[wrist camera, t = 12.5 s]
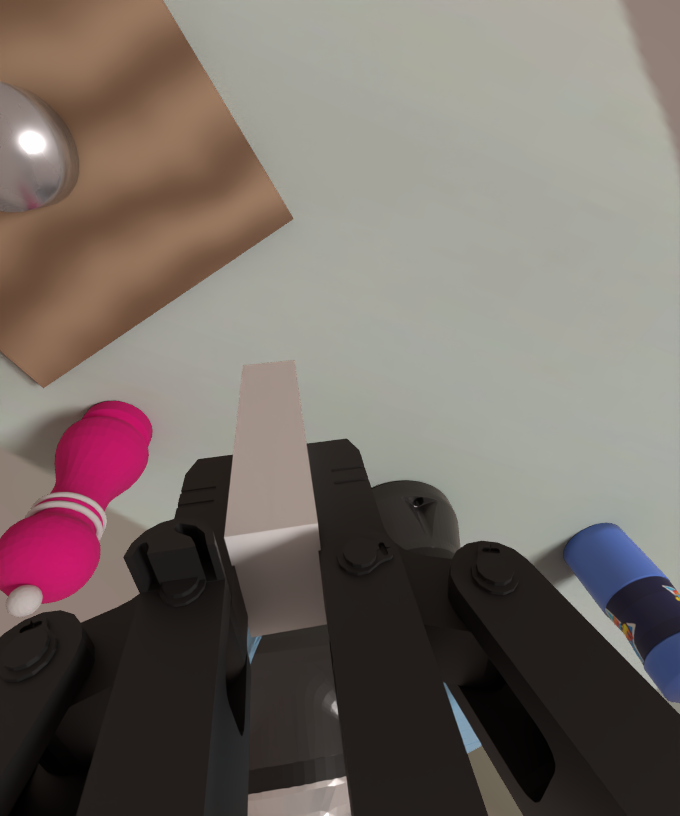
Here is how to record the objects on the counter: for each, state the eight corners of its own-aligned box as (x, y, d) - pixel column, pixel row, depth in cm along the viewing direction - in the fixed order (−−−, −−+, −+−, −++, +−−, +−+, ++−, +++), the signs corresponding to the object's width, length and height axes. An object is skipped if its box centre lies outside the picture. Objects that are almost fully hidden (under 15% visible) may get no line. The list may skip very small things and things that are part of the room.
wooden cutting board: (292, 216, 35) (293, 219, 33) (51, 380, 38) (42, 389, 37) (6, -262, 22) (-13, -292, 20) (-317, 57, 25) (-353, 51, 24)
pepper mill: (67, 440, 42) (-71, 636, 24) (93, 382, 39) (-41, 556, 22) (141, 467, 44) (64, 660, 27) (170, 415, 42) (104, 591, 25)
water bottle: (573, 575, 66) (720, 775, 45) (553, 545, 61) (707, 751, 40) (629, 545, 64) (811, 738, 43) (613, 512, 60) (807, 708, 38)
